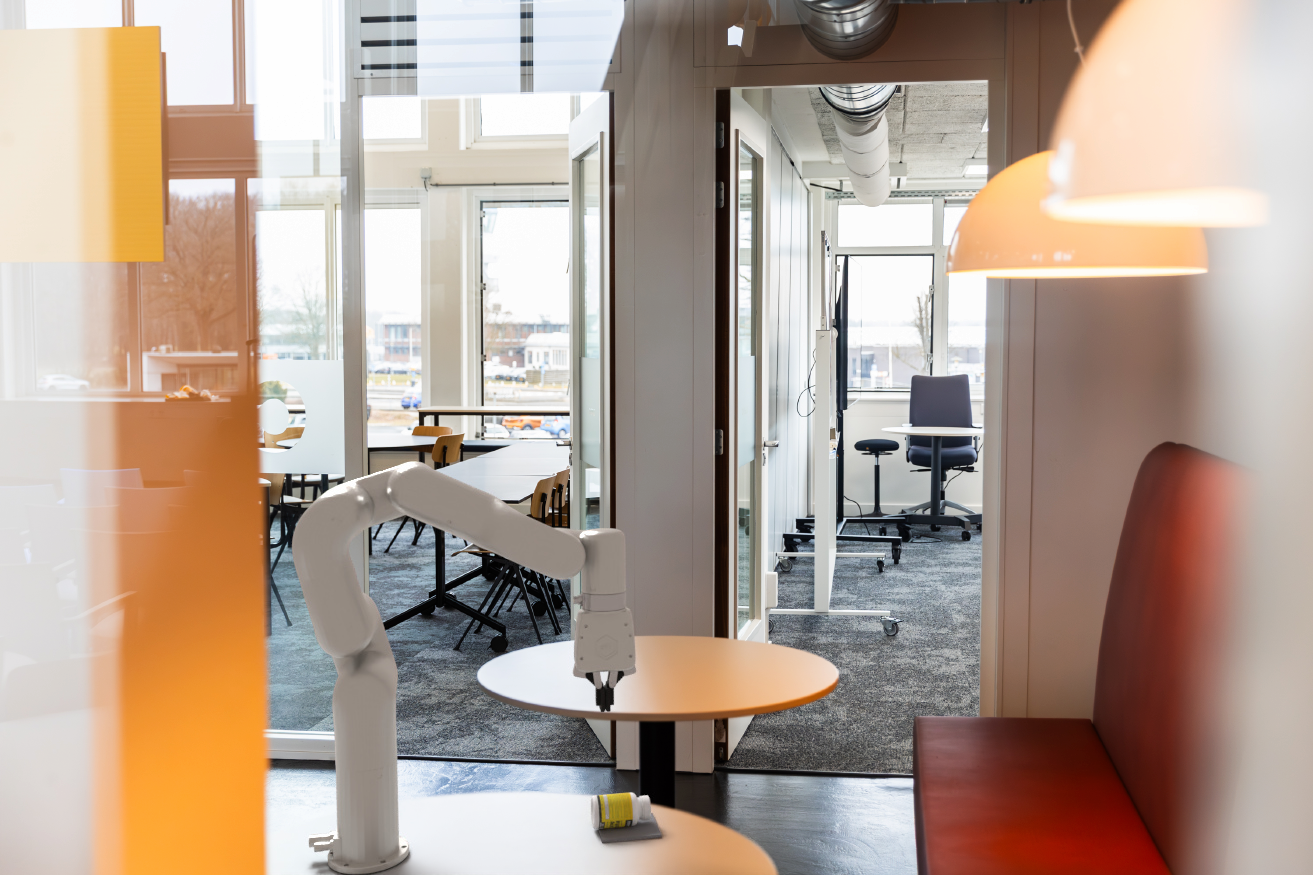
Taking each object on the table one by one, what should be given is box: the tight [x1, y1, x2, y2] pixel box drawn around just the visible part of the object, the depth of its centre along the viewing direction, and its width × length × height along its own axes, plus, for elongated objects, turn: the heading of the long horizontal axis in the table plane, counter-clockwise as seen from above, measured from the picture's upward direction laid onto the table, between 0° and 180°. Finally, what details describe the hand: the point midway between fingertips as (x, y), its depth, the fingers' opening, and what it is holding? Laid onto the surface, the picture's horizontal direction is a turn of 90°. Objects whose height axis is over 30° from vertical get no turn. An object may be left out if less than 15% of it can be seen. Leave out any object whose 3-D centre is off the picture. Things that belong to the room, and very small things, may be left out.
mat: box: [598, 812, 663, 844], centre depth 164 cm, size 10×9×1 cm
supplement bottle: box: [590, 792, 652, 830], centre depth 164 cm, size 5×5×10 cm
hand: (604, 709), depth 163 cm, fingers closed
